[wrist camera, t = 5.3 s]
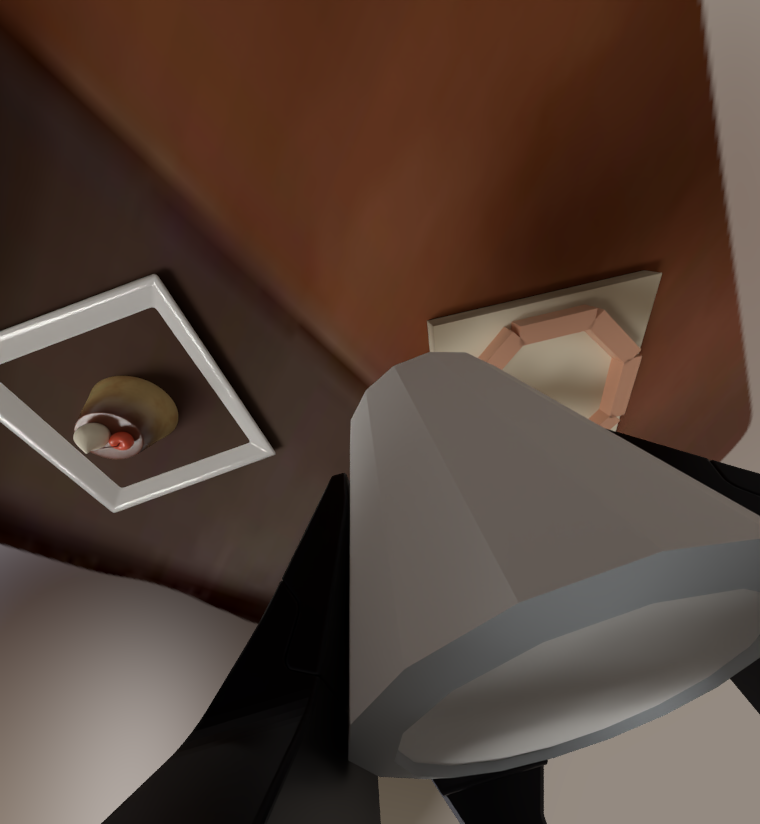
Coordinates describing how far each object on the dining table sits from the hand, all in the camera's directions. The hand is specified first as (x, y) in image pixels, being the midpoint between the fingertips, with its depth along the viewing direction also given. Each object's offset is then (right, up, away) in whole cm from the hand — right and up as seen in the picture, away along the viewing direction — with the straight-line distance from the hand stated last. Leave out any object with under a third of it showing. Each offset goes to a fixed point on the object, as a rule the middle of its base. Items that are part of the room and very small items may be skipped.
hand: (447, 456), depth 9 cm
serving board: (+9, +3, +13) cm, 16 cm away
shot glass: (0, +1, +1) cm, 1 cm away
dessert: (-17, +2, +10) cm, 19 cm away
